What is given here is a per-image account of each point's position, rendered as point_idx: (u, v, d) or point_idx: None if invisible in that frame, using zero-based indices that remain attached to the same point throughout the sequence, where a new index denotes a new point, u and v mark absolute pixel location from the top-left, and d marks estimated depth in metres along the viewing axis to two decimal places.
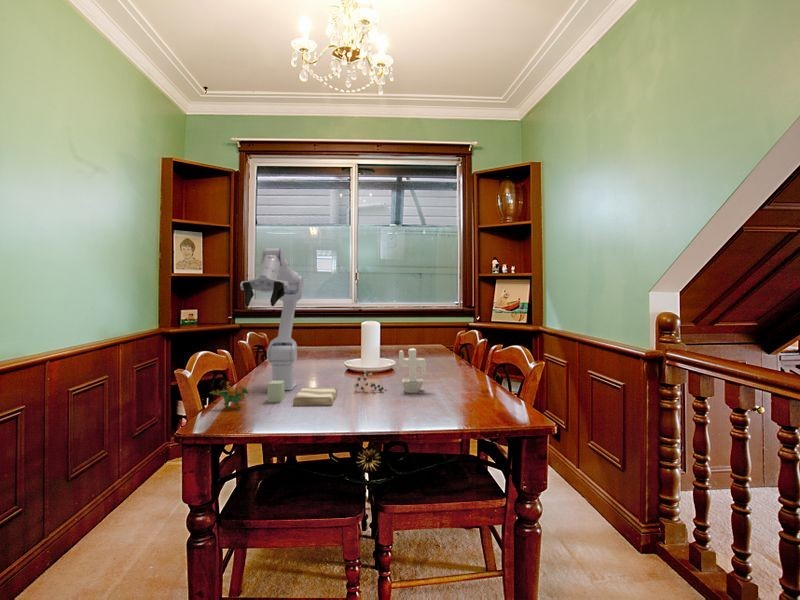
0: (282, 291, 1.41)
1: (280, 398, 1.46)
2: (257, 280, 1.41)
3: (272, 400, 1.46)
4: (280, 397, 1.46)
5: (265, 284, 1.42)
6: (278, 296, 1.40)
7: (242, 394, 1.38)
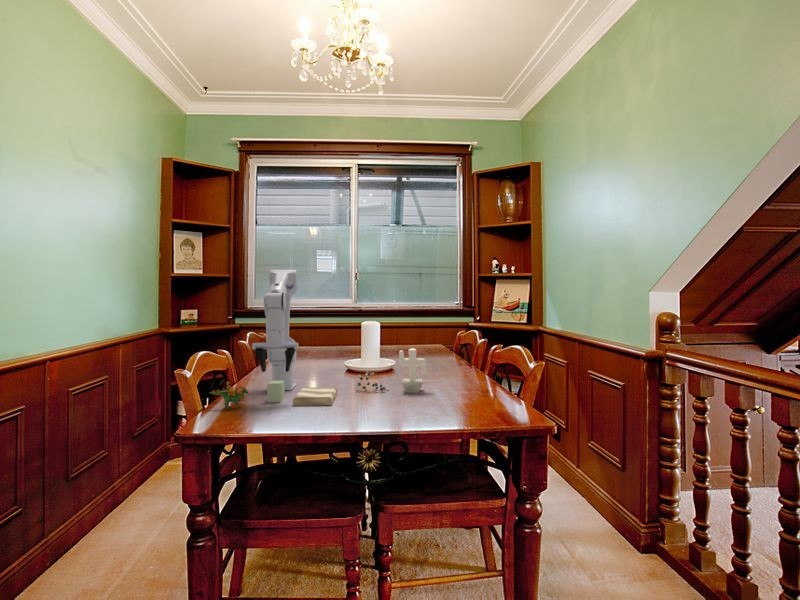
0: (293, 351, 1.48)
1: (280, 398, 1.46)
2: None
3: (272, 400, 1.46)
4: (280, 397, 1.46)
5: None
6: (291, 356, 1.48)
7: (242, 394, 1.38)
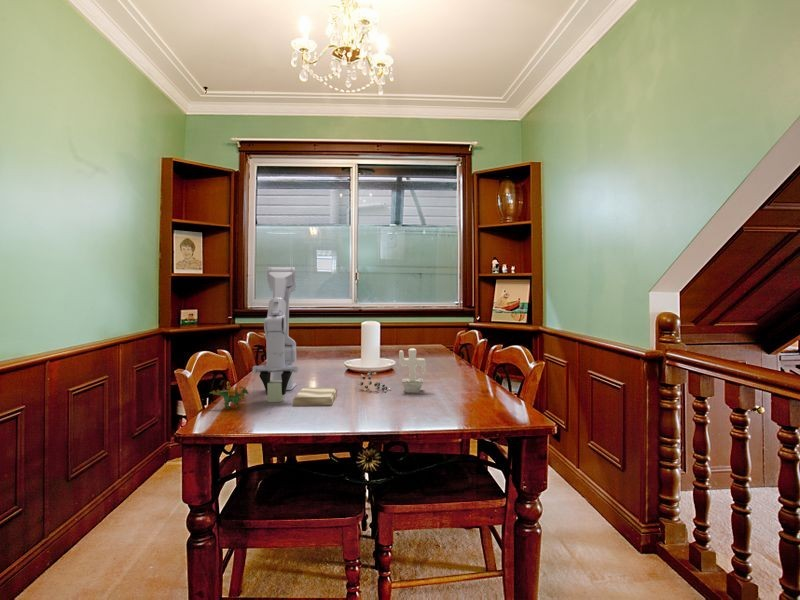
0: (290, 374, 1.48)
1: (280, 398, 1.46)
2: None
3: (272, 400, 1.46)
4: (280, 397, 1.46)
5: None
6: (287, 379, 1.49)
7: (242, 394, 1.38)
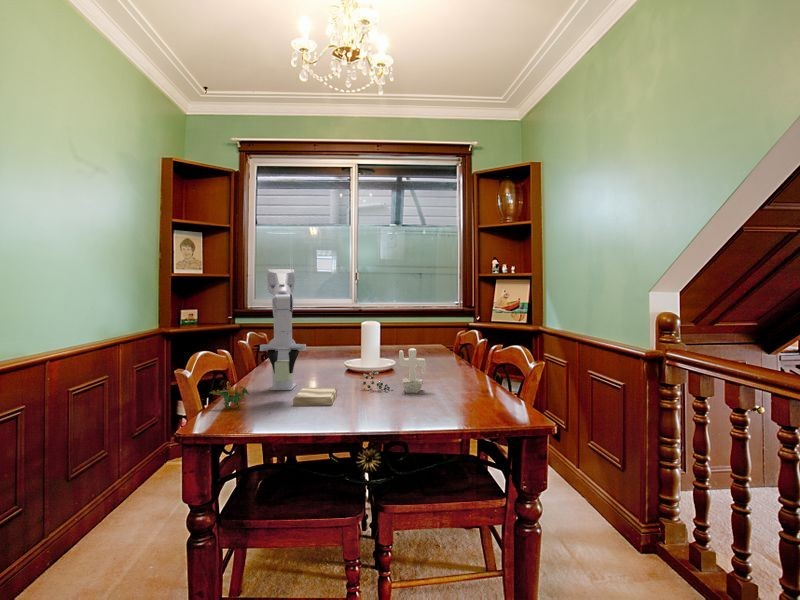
0: (297, 352, 1.48)
1: (287, 377, 1.45)
2: (275, 348, 1.45)
3: (279, 379, 1.45)
4: (287, 376, 1.45)
5: None
6: (294, 358, 1.48)
7: (242, 394, 1.38)
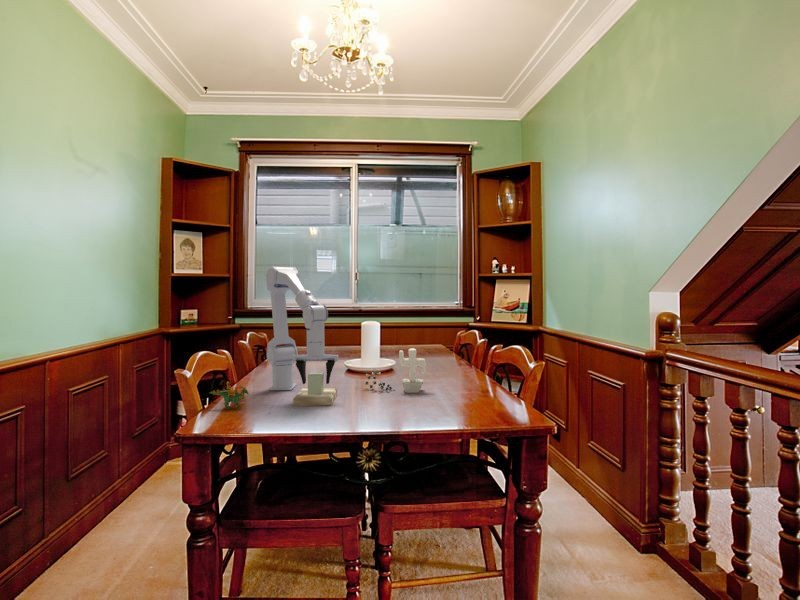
0: (333, 363, 1.48)
1: (320, 390, 1.45)
2: (308, 358, 1.45)
3: (312, 392, 1.45)
4: (320, 389, 1.45)
5: None
6: None
7: (242, 394, 1.38)
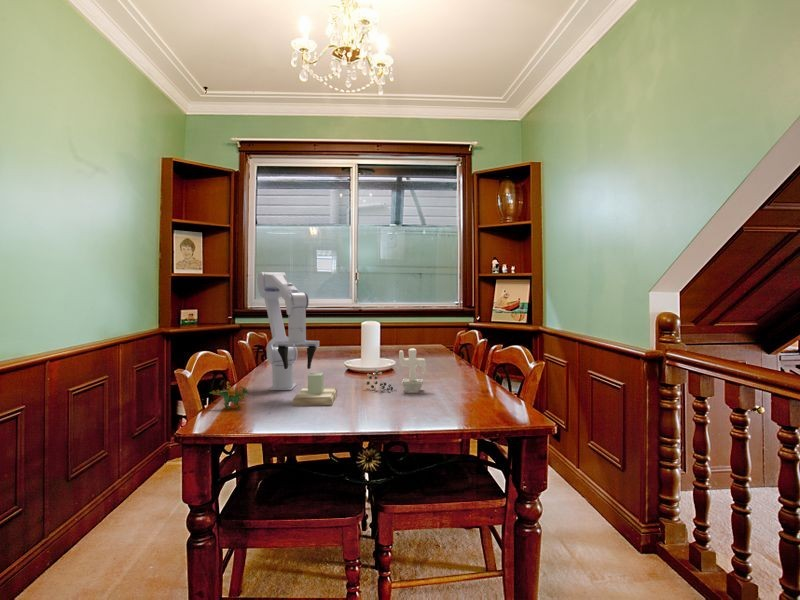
0: (314, 349, 1.53)
1: (320, 390, 1.45)
2: None
3: (312, 392, 1.45)
4: (320, 389, 1.45)
5: None
6: (312, 354, 1.54)
7: (242, 394, 1.38)
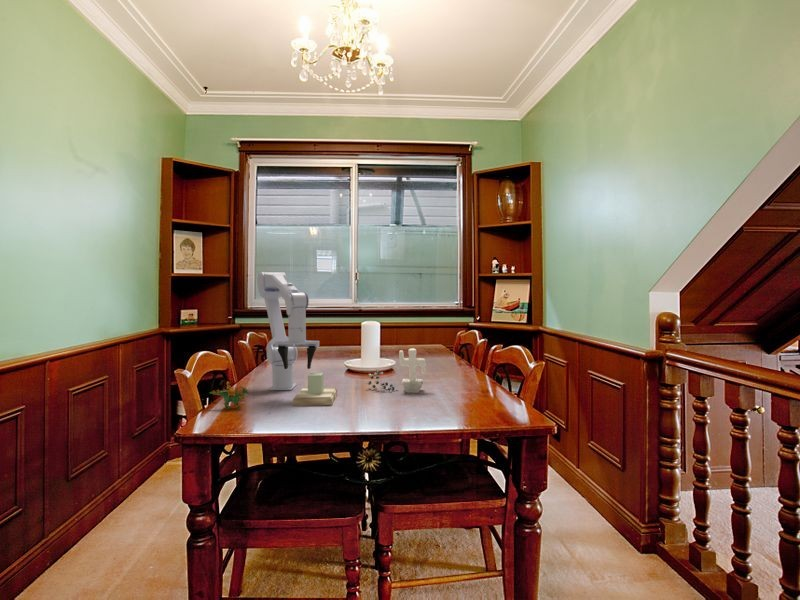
0: (314, 349, 1.53)
1: (320, 390, 1.45)
2: None
3: (312, 392, 1.45)
4: (320, 389, 1.45)
5: None
6: (312, 354, 1.54)
7: (242, 394, 1.38)
